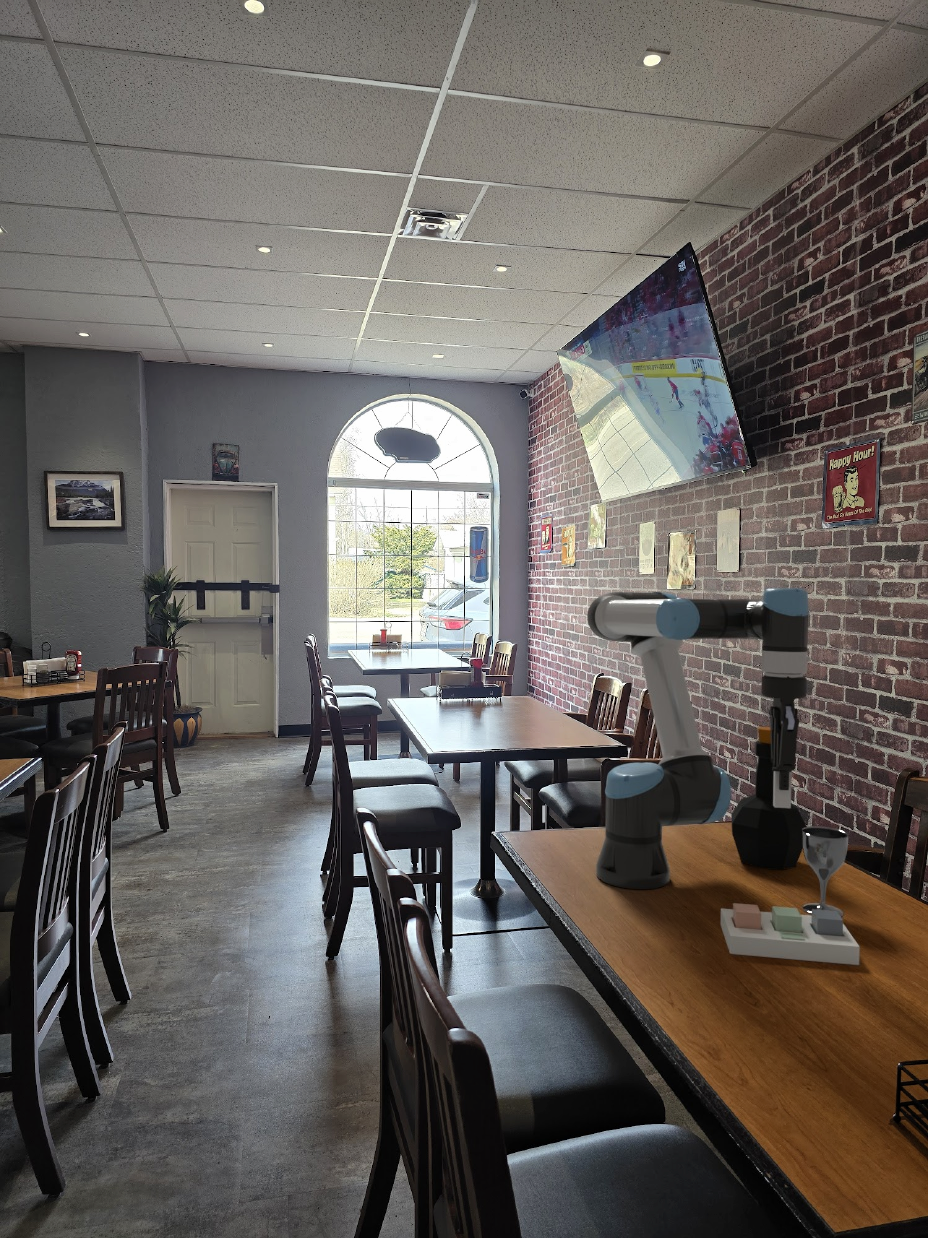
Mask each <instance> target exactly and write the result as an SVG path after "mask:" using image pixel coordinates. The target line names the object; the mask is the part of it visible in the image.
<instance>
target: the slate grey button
mask: <svg viewBox="0 0 928 1238" xmlns="http://www.w3.org/2000/svg"><path fill="white" fill-rule="evenodd" d="M811 916H812V923H811V927H812V929H813V930H814V932H815V934H819V935H831V936H843V924H844V920H843V918H842V917H840V915H839V914H838V912H837V911H828V910H815V909H812V915H811Z"/></svg>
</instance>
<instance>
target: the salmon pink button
mask: <svg viewBox="0 0 928 1238" xmlns="http://www.w3.org/2000/svg"><path fill="white" fill-rule="evenodd" d="M732 909H733V923H734V926H735V928H746V929H758V930H761V912H762V911H760V908H759V906H758V904H750V903H749V904H748V903H746V904H745V903H736V902H735V903H732Z"/></svg>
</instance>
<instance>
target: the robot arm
mask: <svg viewBox="0 0 928 1238" xmlns="http://www.w3.org/2000/svg"><path fill="white" fill-rule="evenodd" d="M762 595H763V596H762V599H753V598H752V599H751V598H736V599H735V598H731V599H730V598H714V599H713V598H685V597H678V596H676V595H674V594H672V593H669V592H662V591H653V592H633V591H632V592H631V591H630V592H627V591H626V592H625V591H624V592H623V591H613V592H608V593H604V594H602V595H600V596H598V597H597V598H595V599H594V600H593V601H592V603H591V604H590V606H589V607H588V609H587V614H586V618H587V624H588V626H589V629H590V631H592V633H593V634H594V635H595V636H597V637H598V638H601V639H603V640H605V641H609V642H618V643H619V642H622V643H624V642H625V643H626V642H628V643H630V644H631V649H632V653H633V654H634V655H635V656H637V657H638V658H640V660H641V663H642V664H641V665H642V668H643V673H644V678H645V684H646V687H647V692H648V695H649V696H648V697H649V700H650V704H651V705H650V706H651V710H652V715H653V718H654V723H655V727H656V732H657V736H658V737H657V738H658V741H659V745H660V751H661V755H662V758H661V759H660V761H659V763H658V764H657V763H654V762H629V763H623V764H621V765H617V766H615V767H613V768H612V769H611V770H610V771H609V772H608V773H607V776H606V783H605V785H606V786H605V789H604V793H605V831H604V832H605V834H604V835H605V836H604V837H605V838H604V842H603V845H602V847H601V849H600V854H599V855H598V859H597V861H596V868H595V869H596V871H595V872H596V873H595V876H596V877H597V878H598V879H599V880H600V879H601V880H600V881H601V882H604V883H606V884H609V885H611V886H614V887H618V888H623V889H624V888H625V889H632V890H652V889H657V888H661V887H664V886H666V885H667V884H669V883H670V880H671V879H670V877H671V874H670V873H671V872H670V866H669V863H668V859H667V855H666V853H665V849H664V845H663V842H662V841H663V838H662V837H663V827H669V826H670V827H671V826H686V825H704V824H707V823H708V824H709V823H715V822H718V821H720V820H721V819H722V818H724V816H725V815H726V814H727V812H728V809H729V806H730V805H731V804H730V803H731V798H732V788H731V787H732V786H731V782H730V778H729V776H728V773H727V772H725V770H724V769H723V768H722V767H718V766H715V765H714V761H713V758H712V755H711V754H709V753H708V752H706V751H704V750H703V748H702V744H701V739H700V735H699V731H698V726H697V722H696V718H695V714H694V709H693V706H692V701H691V698H690V694H689V689H688V685H687V682H686V677H685V674H684V673H685V672H684V669H683V665H682V660H681V657H680V652H679V649H680V648H681V646H682V645H684V644H683V643H684V640H685V641H686V640H758V641H759V640H761V641H762V645H761V649H762V650H761V672H762V673H764V675H763V676H761V690H760V691H761V692H760V693H761V695H762V696H763V697H767V698H770V699H771V698H773V700H772V706H771V705H770V707H769V709H768V714H769V727H770V733H771V762H772V763H773V767H772V771H774V782H773V806H774V807H776V808H791V803H792V772H793V771H795V769H796V754H797V742H798V730H799V725H800V718H799V717H798V716H799V715H798V714H799V713H798V709H797V708H796V707H795V700H796V699H805V698H806V697H807V696H808V694H807V693H808V678H807V677H806V676H804V675H805V674H807V673H808V664H807V663H809V662H811V656H808V644H809V643H808V642H809V641H808V639H809V615H810V610H809V596H808V595H809V594H808V592H807V591H806V589H803V588H797V587H795V588H791V587H790V588H788V587H785V588H782V587H781V588H778V587H776V588H771V587H770V588H766V589H764V590H763V594H762Z"/></svg>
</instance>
